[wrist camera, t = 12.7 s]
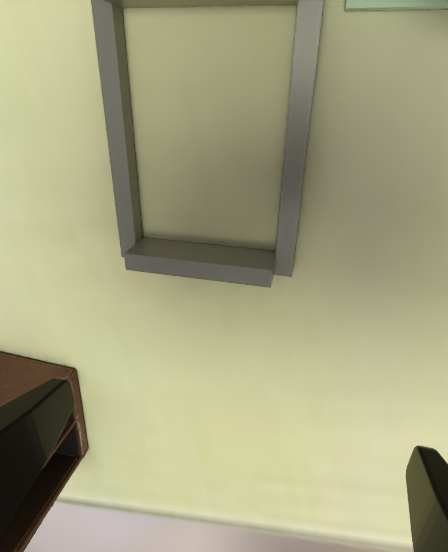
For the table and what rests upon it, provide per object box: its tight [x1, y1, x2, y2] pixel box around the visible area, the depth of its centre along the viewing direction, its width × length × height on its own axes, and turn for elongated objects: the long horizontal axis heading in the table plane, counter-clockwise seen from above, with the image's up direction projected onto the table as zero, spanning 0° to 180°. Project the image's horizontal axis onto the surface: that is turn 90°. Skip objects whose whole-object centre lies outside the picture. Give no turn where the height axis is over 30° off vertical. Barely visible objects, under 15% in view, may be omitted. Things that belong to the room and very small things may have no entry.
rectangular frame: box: [91, 0, 324, 288], centre depth 18 cm, size 10×14×2 cm
